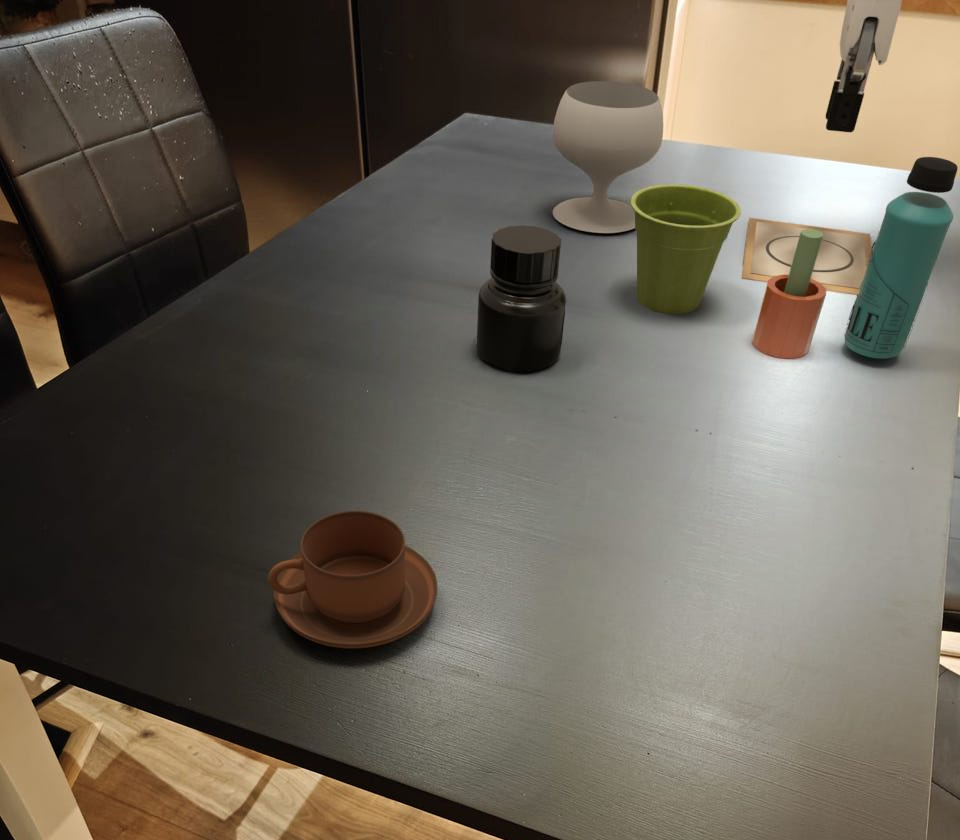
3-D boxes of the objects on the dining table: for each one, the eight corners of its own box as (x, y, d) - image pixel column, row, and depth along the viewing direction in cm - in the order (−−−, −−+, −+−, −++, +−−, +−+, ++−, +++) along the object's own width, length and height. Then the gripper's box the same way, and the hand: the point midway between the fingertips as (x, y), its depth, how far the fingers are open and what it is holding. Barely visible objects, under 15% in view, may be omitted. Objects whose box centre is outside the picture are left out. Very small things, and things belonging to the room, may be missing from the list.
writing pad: (868, 238, 125) (870, 232, 125) (875, 301, 111) (878, 295, 111) (748, 221, 128) (749, 216, 127) (740, 282, 114) (742, 275, 113)
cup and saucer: (326, 687, 64) (319, 623, 60) (248, 590, 71) (237, 526, 67) (468, 621, 70) (471, 557, 65) (383, 536, 76) (380, 473, 72)
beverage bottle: (908, 357, 102) (986, 161, 88) (882, 379, 98) (958, 178, 84) (853, 337, 105) (919, 144, 90) (825, 357, 101) (890, 160, 87)
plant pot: (596, 292, 110) (610, 192, 102) (678, 275, 114) (697, 178, 106) (654, 336, 103) (673, 232, 95) (739, 316, 107) (764, 215, 99)
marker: (790, 341, 102) (823, 230, 94) (790, 351, 101) (823, 238, 92) (770, 338, 102) (801, 227, 94) (769, 348, 101) (800, 235, 93)
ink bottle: (578, 351, 100) (592, 237, 91) (535, 384, 95) (545, 267, 86) (502, 324, 103) (509, 213, 95) (456, 355, 98) (459, 239, 90)
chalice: (621, 247, 120) (640, 119, 109) (526, 221, 125) (535, 96, 114) (665, 214, 128) (686, 92, 118) (575, 191, 133) (587, 72, 123)
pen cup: (806, 340, 104) (826, 278, 99) (806, 366, 99) (826, 303, 94) (752, 332, 104) (768, 270, 100) (749, 358, 100) (766, 295, 95)
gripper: (935, -53, 91) (875, 150, 104) (921, -77, 103) (868, 109, 115) (856, -59, 92) (806, 143, 105) (851, -82, 104) (806, 103, 117)
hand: (839, 123), depth 110 cm, fingers open, 3 cm apart
